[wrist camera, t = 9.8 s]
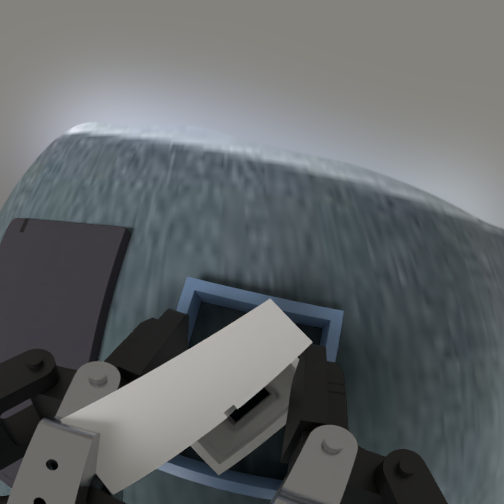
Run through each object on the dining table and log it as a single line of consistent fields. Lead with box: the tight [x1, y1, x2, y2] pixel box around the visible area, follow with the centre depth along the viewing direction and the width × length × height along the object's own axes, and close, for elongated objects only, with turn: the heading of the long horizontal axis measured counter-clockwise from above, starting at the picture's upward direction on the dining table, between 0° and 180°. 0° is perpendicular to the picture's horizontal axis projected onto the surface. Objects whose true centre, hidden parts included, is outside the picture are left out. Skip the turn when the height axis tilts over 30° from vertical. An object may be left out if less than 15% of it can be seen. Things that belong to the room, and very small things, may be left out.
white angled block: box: [60, 299, 312, 495], centre depth 10 cm, size 4×10×9 cm
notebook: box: [0, 218, 131, 488], centre depth 15 cm, size 13×2×21 cm
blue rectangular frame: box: [157, 277, 344, 500], centre depth 13 cm, size 8×10×2 cm
